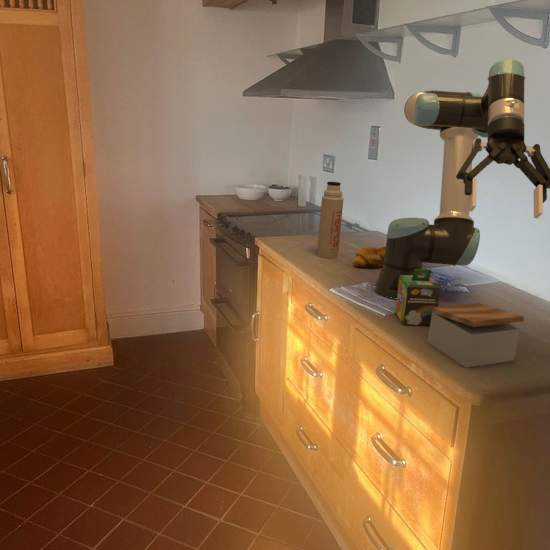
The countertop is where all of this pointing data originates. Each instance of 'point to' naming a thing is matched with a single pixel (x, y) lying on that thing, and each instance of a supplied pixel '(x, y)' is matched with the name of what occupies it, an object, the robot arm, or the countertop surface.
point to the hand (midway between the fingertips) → (505, 212)
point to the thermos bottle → (330, 221)
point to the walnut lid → (477, 314)
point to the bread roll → (370, 257)
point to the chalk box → (417, 298)
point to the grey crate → (473, 341)
